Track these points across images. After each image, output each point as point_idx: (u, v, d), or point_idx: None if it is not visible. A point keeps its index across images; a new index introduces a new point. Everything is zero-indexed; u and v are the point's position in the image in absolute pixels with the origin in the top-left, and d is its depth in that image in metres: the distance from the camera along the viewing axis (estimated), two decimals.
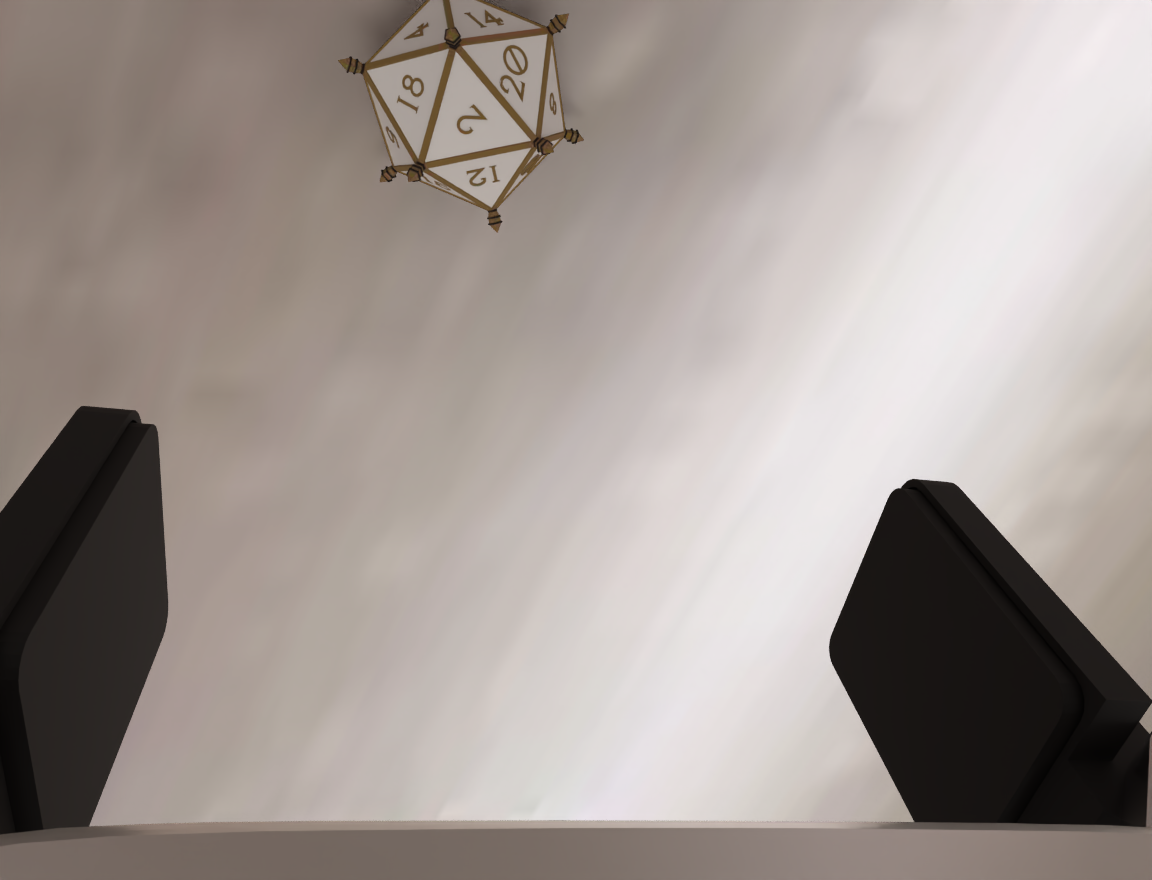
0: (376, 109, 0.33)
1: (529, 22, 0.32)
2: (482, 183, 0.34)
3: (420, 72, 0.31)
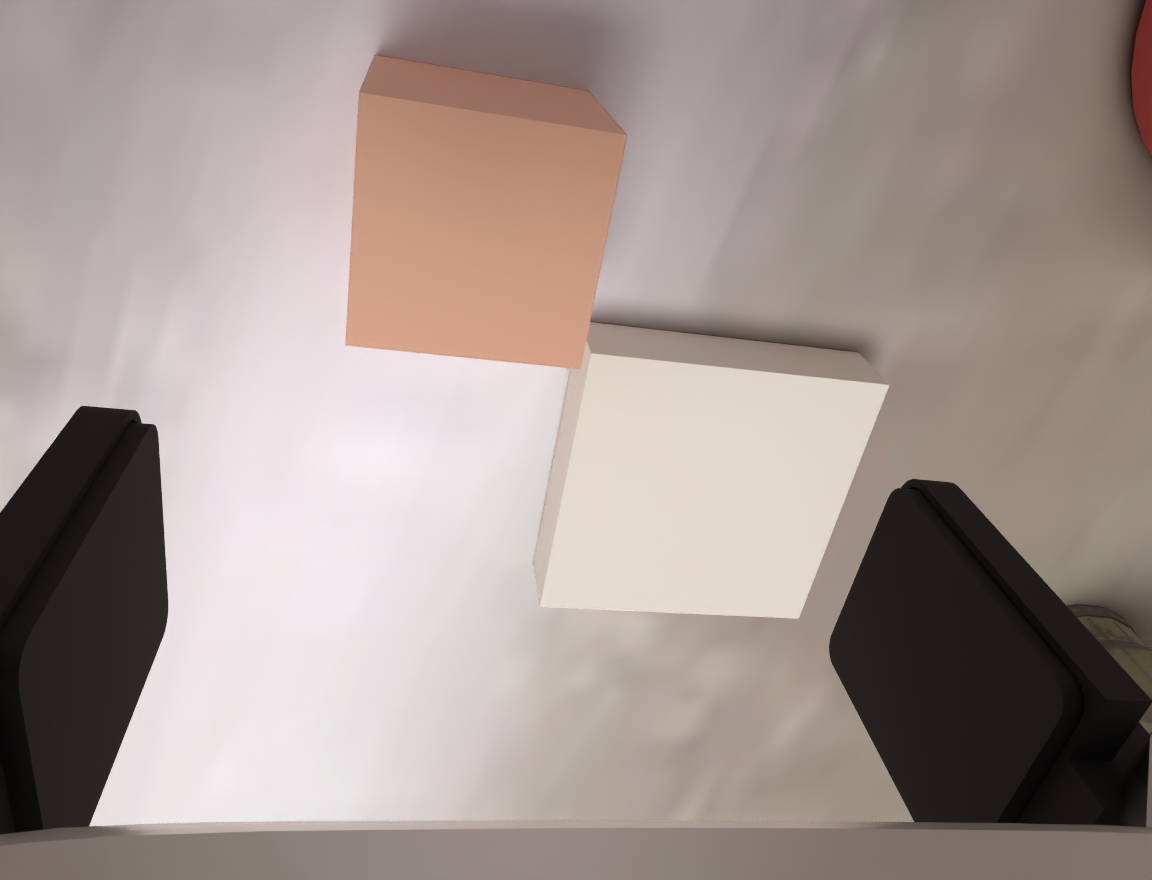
0: None
1: None
2: None
3: None
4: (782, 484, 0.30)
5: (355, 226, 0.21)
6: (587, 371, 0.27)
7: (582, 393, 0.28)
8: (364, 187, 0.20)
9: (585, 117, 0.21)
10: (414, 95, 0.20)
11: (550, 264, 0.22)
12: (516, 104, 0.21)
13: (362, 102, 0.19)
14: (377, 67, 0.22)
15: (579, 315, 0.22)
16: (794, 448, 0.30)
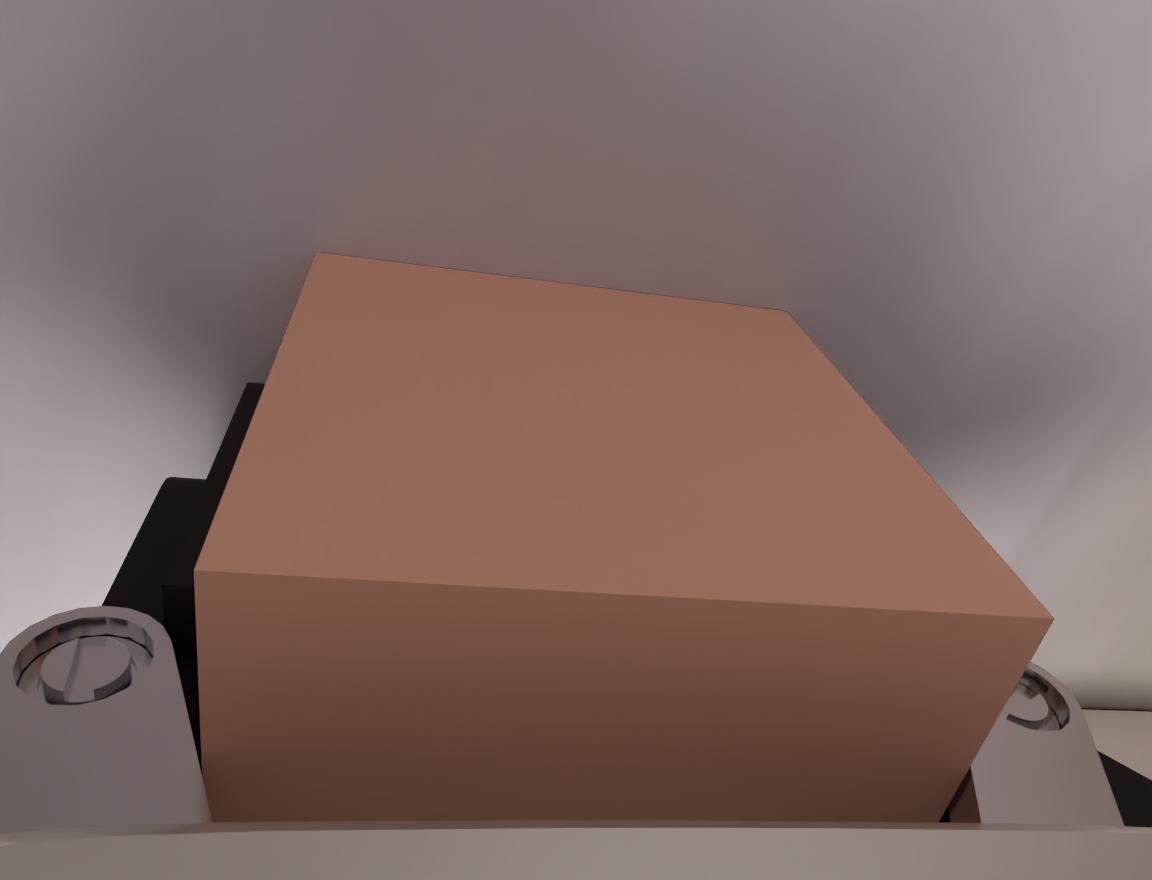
0: None
1: None
2: None
3: None
4: None
5: None
6: None
7: None
8: (235, 794, 0.06)
9: (880, 502, 0.08)
10: (395, 514, 0.06)
11: None
12: (688, 470, 0.08)
13: (208, 599, 0.05)
14: (308, 326, 0.09)
15: None
16: None
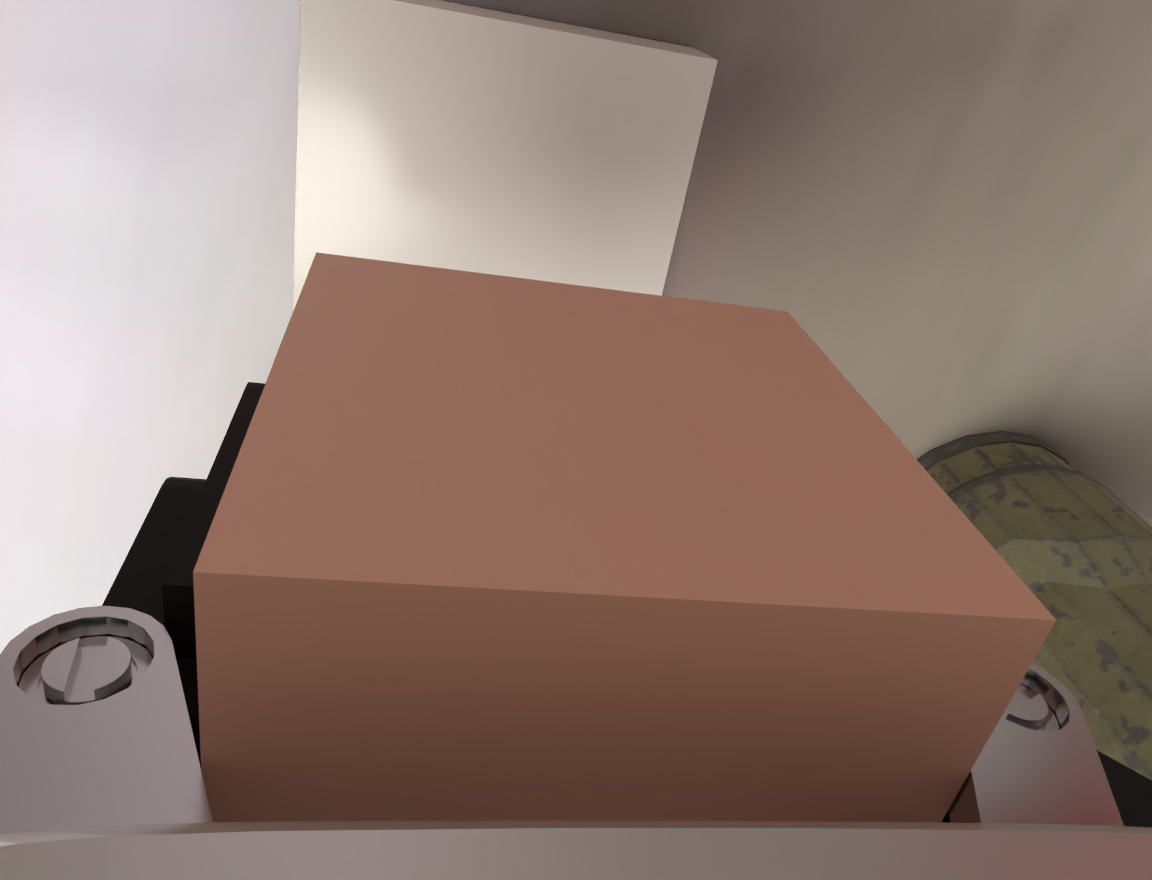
0: None
1: None
2: None
3: None
4: (589, 208, 0.24)
5: None
6: (301, 13, 0.20)
7: (300, 50, 0.21)
8: (234, 795, 0.06)
9: (881, 504, 0.08)
10: (395, 516, 0.06)
11: None
12: (689, 471, 0.08)
13: (207, 601, 0.05)
14: (308, 327, 0.09)
15: None
16: (600, 152, 0.23)
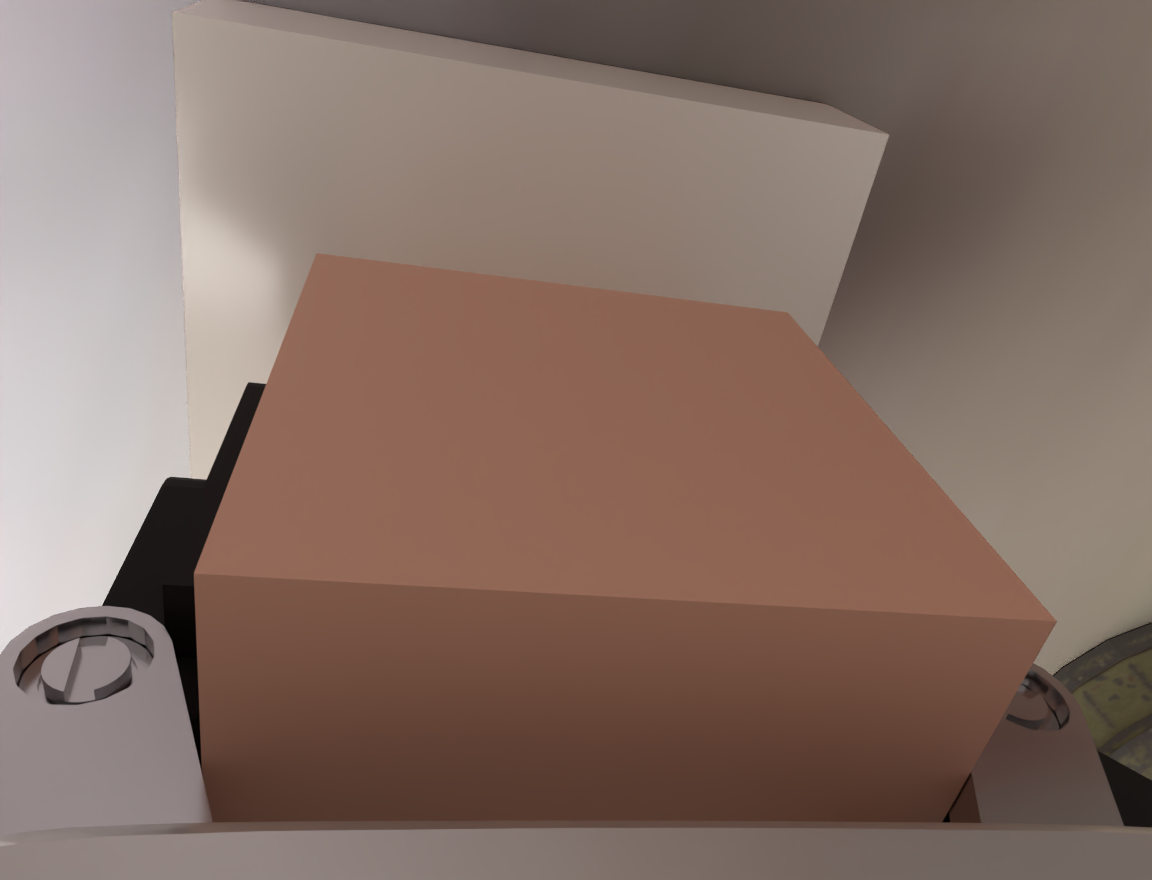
0: None
1: None
2: None
3: None
4: None
5: None
6: (175, 64, 0.12)
7: (179, 126, 0.12)
8: (236, 796, 0.06)
9: (881, 505, 0.08)
10: (396, 517, 0.06)
11: None
12: (689, 472, 0.08)
13: (208, 602, 0.05)
14: (308, 328, 0.09)
15: None
16: (687, 282, 0.14)
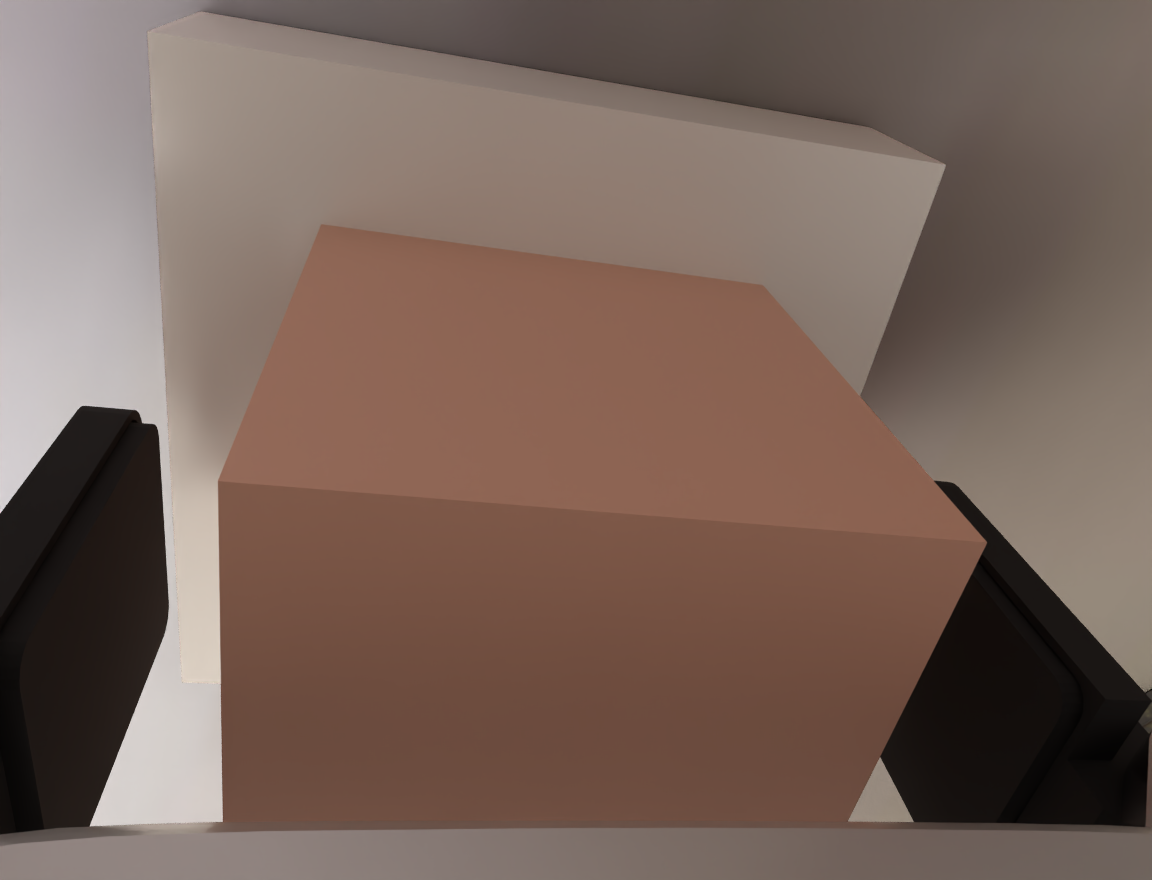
0: None
1: None
2: None
3: None
4: None
5: (232, 771, 0.08)
6: (152, 90, 0.10)
7: (156, 158, 0.11)
8: (250, 693, 0.07)
9: (837, 446, 0.08)
10: (395, 443, 0.07)
11: (737, 804, 0.09)
12: (662, 414, 0.08)
13: (229, 507, 0.06)
14: (314, 287, 0.09)
15: None
16: None
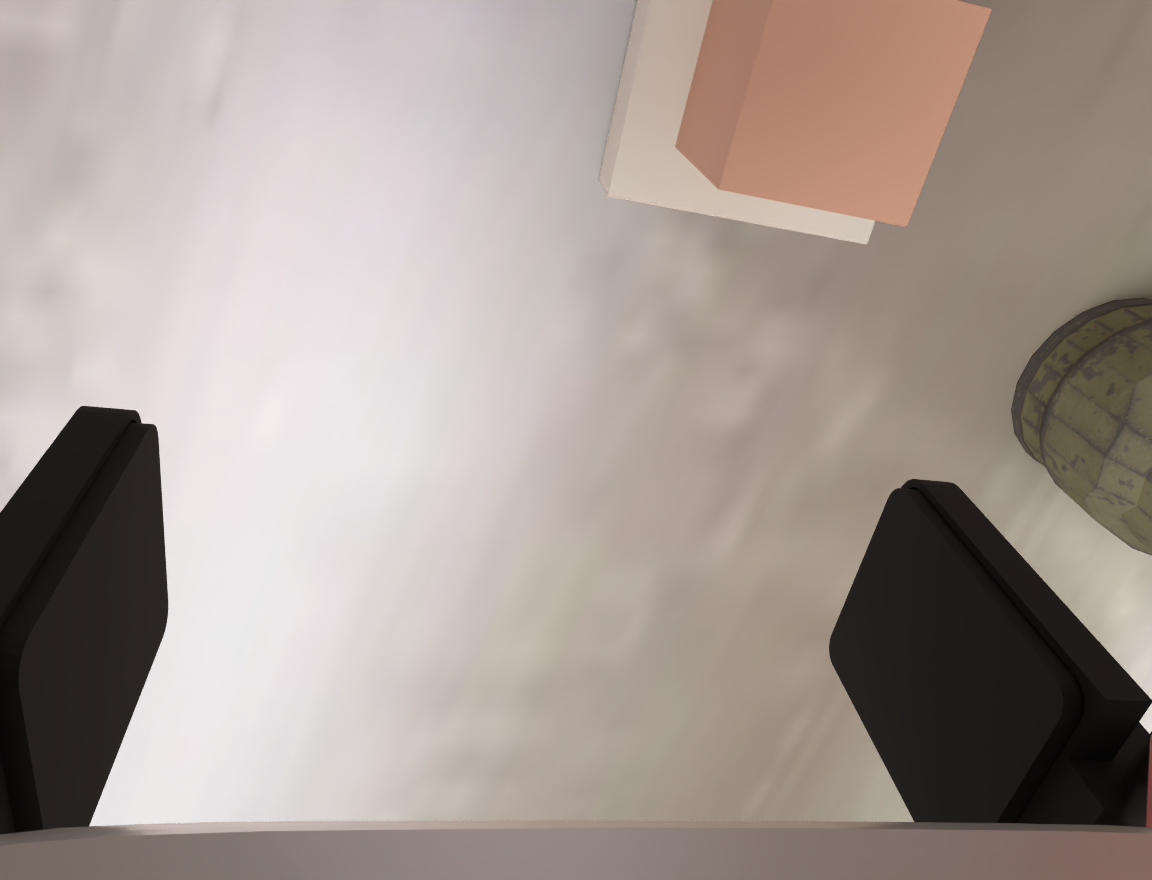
0: None
1: None
2: None
3: None
4: None
5: (752, 78, 0.24)
6: None
7: None
8: (768, 41, 0.24)
9: None
10: None
11: (903, 125, 0.25)
12: None
13: None
14: None
15: (916, 175, 0.26)
16: None
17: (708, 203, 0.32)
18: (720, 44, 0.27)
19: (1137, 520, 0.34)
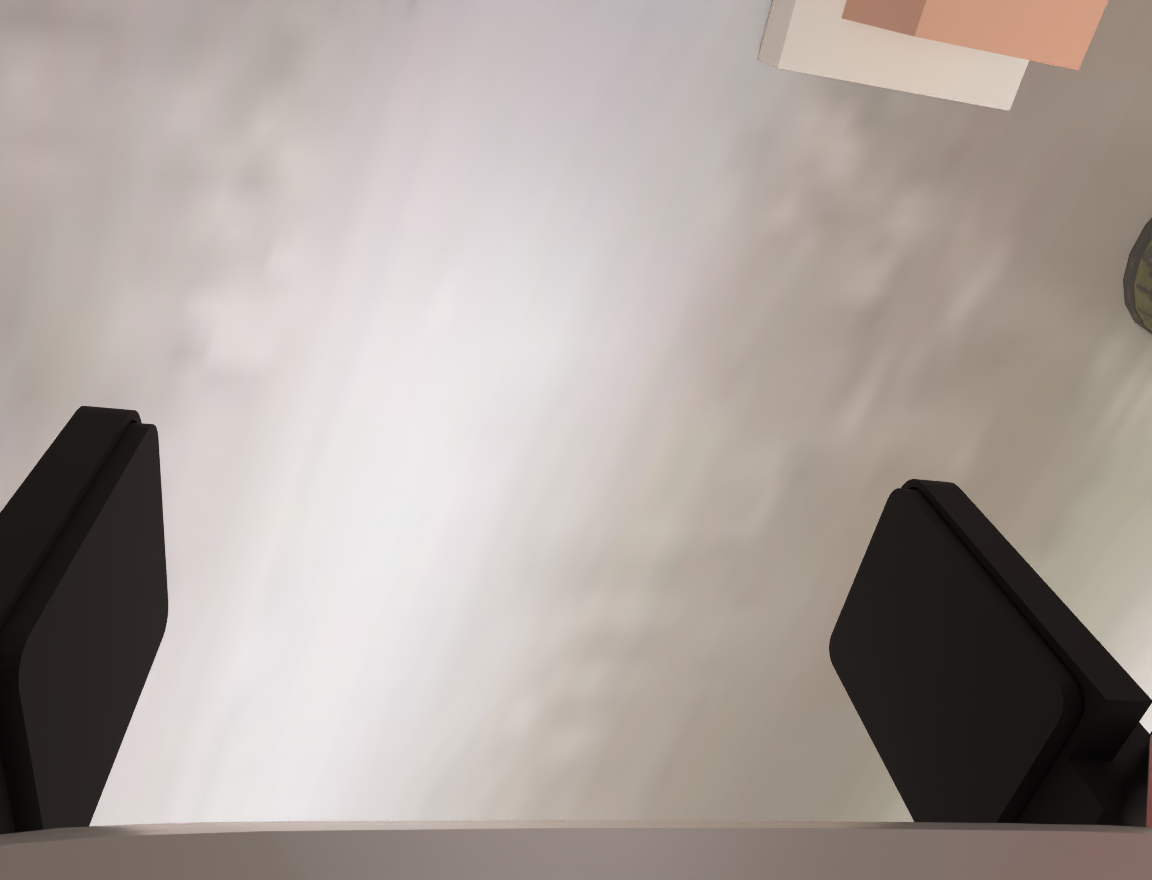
0: None
1: None
2: None
3: None
4: None
5: None
6: None
7: None
8: None
9: None
10: None
11: None
12: None
13: None
14: None
15: (1091, 19, 0.28)
16: None
17: (868, 73, 0.34)
18: None
19: None
